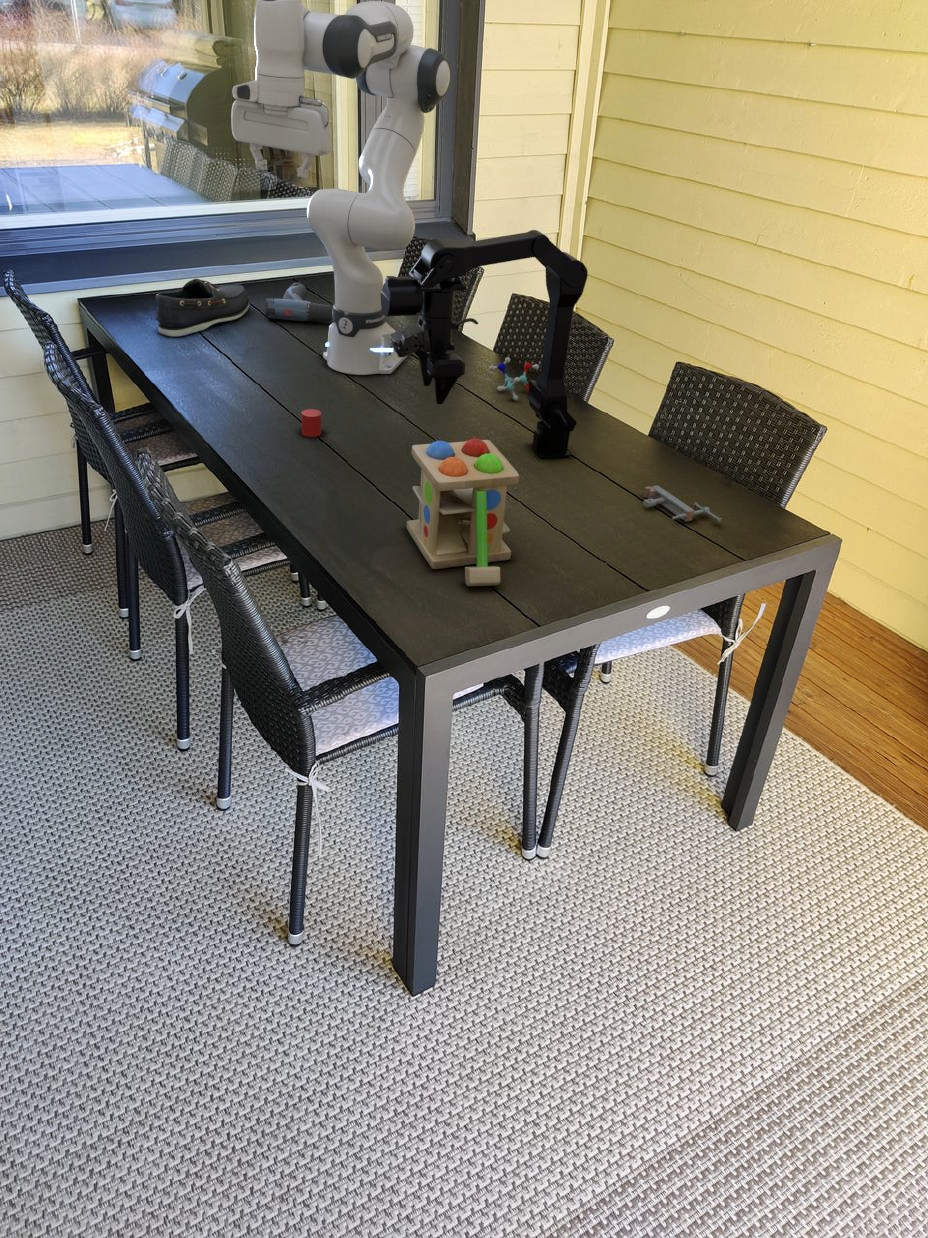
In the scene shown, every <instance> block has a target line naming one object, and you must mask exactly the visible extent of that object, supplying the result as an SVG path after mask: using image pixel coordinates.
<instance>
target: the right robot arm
mask: <svg viewBox="0 0 928 1238" xmlns="http://www.w3.org/2000/svg"><path fill="white" fill-rule="evenodd" d="M531 258H532V259H533V258H535V259H536V260H537V261H538V263H540V264H541V265H542V266H543V267H544V268H545V286H546V292H547V295H548V299H549V300H548V301H549V304H548V305H549V306H548V313H547V320H546V328H545V335H544V343H543V352H542V361H541V367H540V373H539V374H538V376H537V378H536V379H535V380H533V379H530V380H529V381H528V384H529V392H527V395H526V400H528V405H529V407H530V409H532V411H533V412H534V414H535V417H536V418H538V419H539V420H537V423H536V428H534V430H533V435H532V436H533V438H532V442H531V444H530V446H531V448H532V449H533V450H534V451H535V453H536V454H537V455H538V456H539V458H541V459H557V458H558V459H559V458H570V456H571V454H570V452H569V451H568V447H569V442H570V441H569V440H570V436H571V435H570V434H571V432H573V431H574V429H575V428H576V425H578V424H577V423H578V422H577V421H576V419H575V418H574V417H573V415H571V413H569V412H568V407H569V406H568V402H569V401H568V392H567V391H568V390H567V387H566V382H565V372H566V366H567V358H568V351H569V345H570V337H571V330H572V324H573V316H574V309H575V306H576V304H577V303H578V302H579V300H580V298H581V297H582V296H583V293H584V290H585V287H586V283H587V280H588V275H589V272H588V268H587V266H586V265H585V263H583V262H582V261H581V260H579V259H577V258H576V257H574V256H573V255H571V254H569V253H568V252H566V251H562V250H561V249H560V248H559V247H558V246H556V245H555V244H554V243H553V242H552V241H551V240H550V238H549V237H548V236H547V235H546V234H544V233H542V232H541V231H539V230H537V229H531V230H529V231H527V232H521V233H514V234H508V235H503V236H496V237H490V238H484V239H478V240H472V241H470V240H461V239H451V238H433V239H431V240H429V241H427V242H426V244H425V245H424V247H423V249H422V251H421V255H420V256H419V259H418V260H417V261H416V263H414V265H413V267H412V268H411V270H410V271H409V272H408V275H409V276H394V275H386V276H385V277H384V282H383V287H382V292H381V307H382V311H383V314H384V316H385V317H410V316H417V315H418V314H419V313H421V314H420V315H418V317H417V319H416V324H414V325H411V326H407V327H404V328H402V329H399V330H396V331H397V332H394V333H392V334H391V335H390V338H391V341H392V344H393V347H394V350H395V352H396V353H397V355H398V357H405V356H407V355H408V356H409V355H411V354H415V356H416V357H417V358H418V362H419V366H420V373H421V377H422V383H423V386H424V387H429V386H430V385H431V384H432V381H433V382H434V391H435V392H434V393H435V401H436V404H437V405H443V404H444V402H445V401H446V399H447V397H448V396H449V394H450V392H451V390H452V389H453V387H454V386H455V384H456V382H457V381H458V380H459V378H461V377H462V376H464V375H465V373H466V364H465V362H464V361H463V360H462V358H461V357H460V356H459V355H458V354H457V353H456V352H453V353H452V352H450V351H455V344H454V342H452V341H453V330H454V329H457V326H456V321H455V320H454V311H455V310H454V309H455V294H456V291H457V292H458V291H459V292H460V291H466V290H467V289H468V288H467V286H466V285H465V284H464V283H463V282H462V281H461V278H460V277H461V276H464V275H466V274H468V273H469V272H470V271H472V270H473V269H476V268H478V267H479V268H480V267H485V266H489V265H496V264H501V263H508V262H515V261H519V260H526V259H531ZM427 273H428V274H427ZM448 351H449V352H450V353H449V352H448ZM408 356H407V357H408Z"/></svg>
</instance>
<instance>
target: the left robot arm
mask: <svg viewBox="0 0 928 1238" xmlns="http://www.w3.org/2000/svg"><path fill="white" fill-rule="evenodd" d="M253 21H254V28H253V30H254V31H253V32H254V33H253V36H254V38H253V39H254V48H255V49H254V50H255V51H256V52H255V53H256V66H255V79H254V80H250V81H248V82H244V83H240V84H236V85H234V86H233V87H232V97H233V98H234V99H235V100H234V101H233V102H232V107H231V133H232V136H233V138H234V139H235V141H237V142H241V143H245V144H246V143H247V144H249V151H250V153H251V155H252V157H253V159H254V161H255V170H257V171H261V172H264V171H267V170H268V160H267V159H264V156H263V153H262V151H261V150H263V147H269V148H274V149H278V150H284V151H288V152H289V151H290V152H295V153H301V160H303V162H302V164H301V166H300V167H296V177H297V178H298V179H302V180H307V179H309V176H310V175H309V174H310V173H309V171H310V170H309V169H310V167H311V165H312V164H313V162H314V159H315V156H317V157H322V156H327V155H328V154H329V153H330V152H331V150H332V136H331V135H332V134H331V126H330V109H329V107H328V105H327V104H326V103H325V102H323V99H320V98H312V97H307V96H306V76H305V74H306V73H305V71H309V72H317V73H321V74H328V75H329V74H330V75H335V76H339V77H343V78H347V79H350V80H351V79H352V80H354V81H355V84H356V86H357V88H358V89H359V90H360V91H361V92H364V93H365V94H367V95H370V96H374V97H375V96H376V97H377V96H379V97H382V98H385V99H387V100H386V105H385V107H384V108H383V110H382V112H381V113H380V114H379V116H378V118H377V119H376V121H375V123H374V125H373V127H372V129H371V131H370V134H369V135H368V138H367V140H366V143H365V145H364V147H363V149H362V152H361V154H360V156H359V158H358V171H359V175H360V177H361V178H362V180H363V182H364V183H365V184H366V185H367V186H368V187H369V188H368V190H367V191H366V192H358V191H353V190H347V189H344V188H343V189H342V188H323V189H322V188H321V189H318V190H316V191H315V192H314V193H313V194H312V196H311V197H310V198H309V200H308V203H307V207H306V218H307V222H308V225H309V227H310V229H311V231H312V232H313V233H314V234H315V235H316V236H317V238H319V240H320V241H321V243H322V244H323V246H324V248H325V250H326V252H327V254H328V256H329V259H330V262H331V266H332V271H333V279H334V281H333V282H334V303H333V305H332V307H333V311H332V314H333V320H332V323H331V324H330V325H329V326H328V336H327V342H325V347H327V348H326V351H324V352H323V353H322V358H323V359H324V360H326V362H327V363H326V365H327V366H328V367H329V368H330V369H332V370H334V371H336V372H339V373H341V374H342V373H343V374H347V375H356V376H369V375H379V374H380V375H389V374H392V373H393V372H394V371H395V370H396V369H397V368H398V367H399V366H400V365H401V364H402V363H403V361H405V360H406V359H407V357H408V356H409V354H408V355H407V356H405V357H398V355H397V353H396V352H395V350H394V347H393V344H392V341H391V338H390V335H391V334H392V333H394V332H397V331H398V330H396V329H394V328H393V327H392V326H391V325H390V324H389V323H388V322H387V319H386V316H384V314H383V311H382V307H381V292H382V287H383V284H384V277H383V276H384V275H383V273H382V271H381V269H380V268H379V266H377V265H376V264H375V263H374V262H373V261H372V260H371V258H370V257H369V256H368V253H367V252H366V250H365V248H367V249H372V250H377V251H383V252H395V251H402V250H404V249H405V248H407V247H408V246H409V244H410V243H411V242H412V240H413V237H414V236H415V231H416V220H415V216H414V213H413V211H412V209H411V208H410V206H409V205H408V203H407V201H406V199H405V194H404V193H405V191H404V189H405V184H406V181H407V178H408V175H409V173H410V169H411V168H412V165H413V163H414V161H415V158H416V156H417V153H418V150H419V148H420V144H421V140H422V137H423V133H424V129H425V124H426V118H425V114H428V113H431V112H432V111H433V110H434V109H435V107H436V106H437V105H439V104H440V103H441V102H442V101H443V99H444V98H445V96H446V95H447V94H448V91H449V88H450V83H451V65H450V63H449V59H448V57H447V56H446V55H445V54H444V53H443V52H441V51H439V50H437V49H434V48H432V47H428V48H427V47H423V46H419V45H415V44H412V43H413V39H414V33H415V31H414V25H413V21H412V18H411V16H410V14H409V13H408V12H407V11H406V10H405V9H404V8H403V7H401V6H399V5H398V4H395V3H392V2H388V1H382V0H368V1H362V2H358V3H356V4H354V5H352V6H351V7H349V8H348V9H347V10H346V11H345V13H344V14H336V13H328V12H321V11H314V10H311V9H309V8H308V7H306V6H305V5H304V3H302V0H256V2H255V9H254V20H253ZM455 323H456V327H457V326H460V325H463V324H466V323H473V324H474V325H479V321H478V320H477V319H475V318H472V317H468V318H464V319H461V320H458V321H455Z"/></svg>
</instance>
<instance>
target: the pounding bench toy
mask: <svg viewBox="0 0 928 1238" xmlns="http://www.w3.org/2000/svg"><path fill="white" fill-rule="evenodd" d="M411 456H412V458H413V459H414V460H415V462H416V464H417V465H418V467H419V468H420V469H421V471H420V472H421V474H420V485H418V486H417V485H413V486H412V490H413V492H414V495H416V497H417V499H418V500H419V501H418V502H419V504H418V506H419V507H418V519H412V520H407V521H406V529H407V531H408V533H409V535H410V536H411V538H412V540H413V541H414V543H415V544H416V546H417V547H418V549H419V551H420V552H421V554H422V555H423V557H424V559H425V560H426V561H427V563H428V565H429V567H430V569H433V570H439V569H440V570H441V569H448V568H453V567H454V568H455V567H456V568H457V567H462V566H463V567H464V566H465V567H464V583H465V585H466V586H467V587H486V586H488V587H489V586H491V587H492V586H499V585H500V584H501V567H499V566H497V565H489V563H491V562H492V563H493V562H500V561H507V560H511V556H512V550H511V549H510V548H509V546H508V545H507V544H506V542H505V541H504V540H503V534H507V533H510V532H511V529H510V528H509V526H508V525H507V524H506V522H505V512H506V511H505V509H506V502H507V501H506V500H507V491H508V490H507V488H508V486H512V485H517V484H519V482H520V481H519V480H520V474H519V473H518V471H517V470H516V469H515V467H513V465H512V464H511V463H510V462H509V460H508V459H507V458H506V457H505V456H504V455H503V454H502V453H501V451H500V450H499V449H498V448H497V447H496V446H495V444H494V443H493V442H492V441H491V440H489V439H480V438H471V439H469V440H464V441H455V442H453V441H452V442H447V441H444V440H436V441H433V442H432V443H424V444H423V443H422V444H413V445H412V446H411ZM469 565H476V566H469Z"/></svg>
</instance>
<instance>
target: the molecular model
mask: <svg viewBox="0 0 928 1238" xmlns="http://www.w3.org/2000/svg"><path fill="white" fill-rule="evenodd" d="M510 362H511V358H510V357H508V356H507V357H505V359H504V362H500V363H499V364H498V365H496V366H495V365H493V364H492V365H490V366H489V371H491V372H493V371H494V370H498V371H500V372H502V374H503V375H504V377H505V379H504V384H503V385H499V386H497V389H496V390H497V391H498V392H504V391H505V390H507V391H508V392H510V393H511V395H512V400H513V401H515V402H516V401H518V400H519V395H516V393H515V391H514V390H515V385H516V384H518V383H521V384H523V386H524V387H525V389H526V392H527V393H528V392H529V381H528V378H527V373H528V370H530V369H534V370H539V369H540V366H539V364H537V363H536V364H531V363H529V362H525V363H524V364H523V368H524V371H523V374H522V375H520V376H519V377H518V376H517V377H515V378H513V377H510V376H508V373H507V371H506V365H507V364H509V363H510Z"/></svg>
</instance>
